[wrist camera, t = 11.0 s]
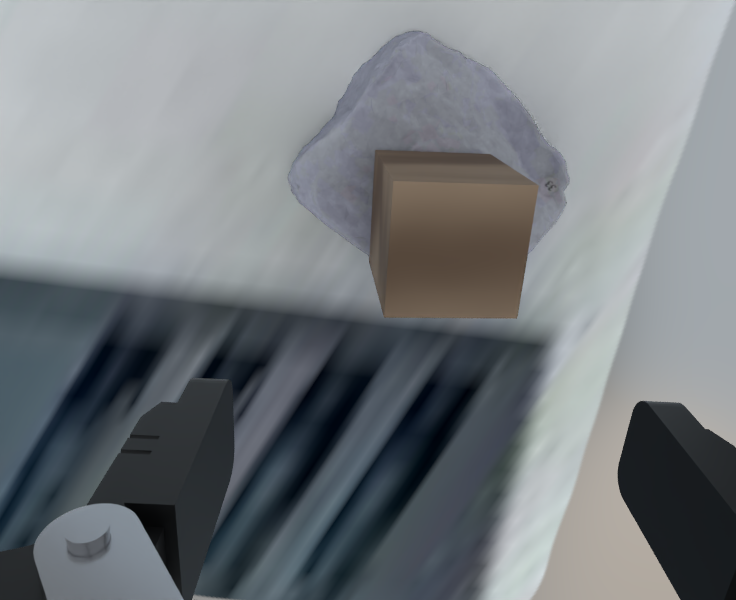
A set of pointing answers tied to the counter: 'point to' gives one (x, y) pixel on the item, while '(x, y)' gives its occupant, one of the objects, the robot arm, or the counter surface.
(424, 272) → the walnut block
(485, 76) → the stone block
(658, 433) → the robot arm
